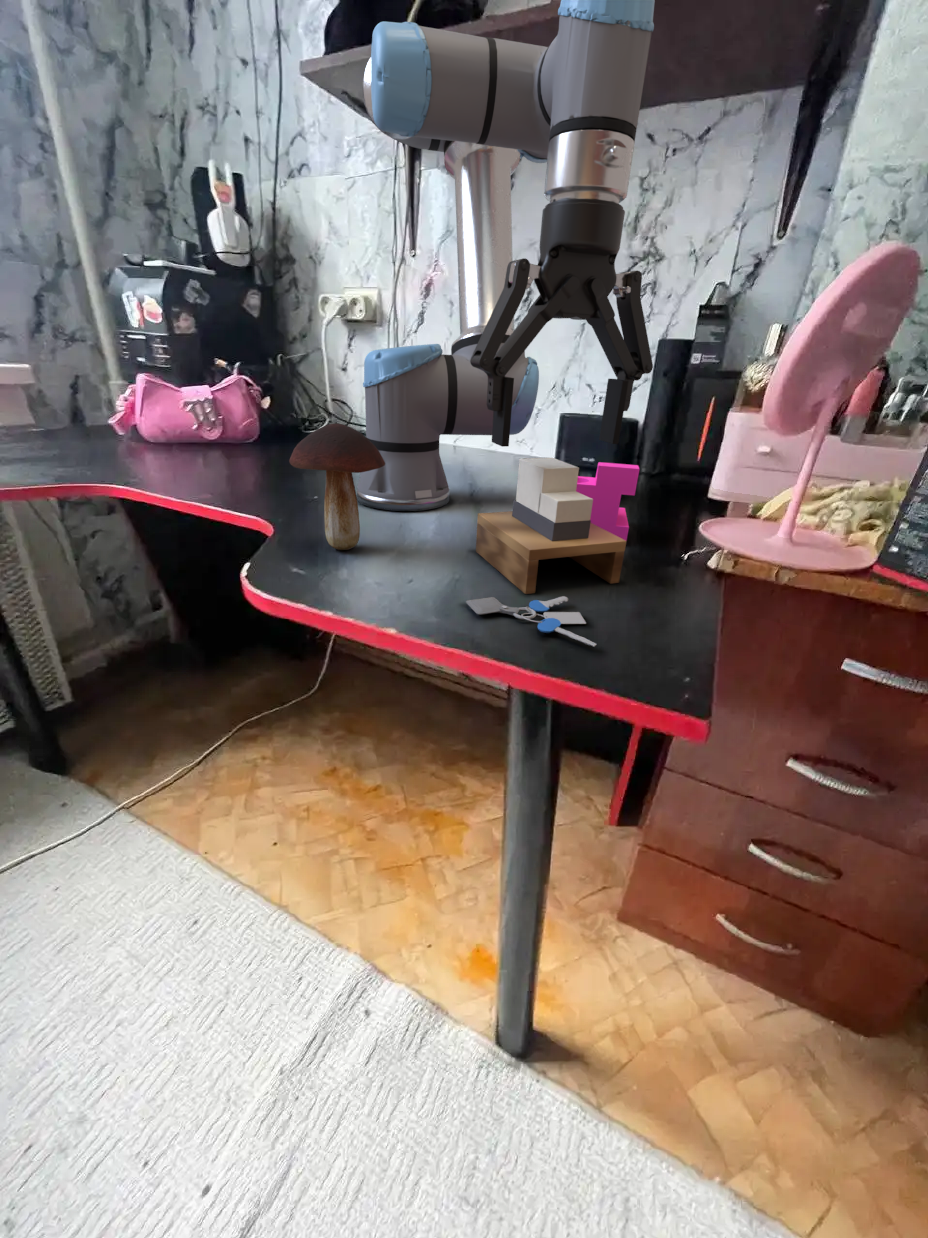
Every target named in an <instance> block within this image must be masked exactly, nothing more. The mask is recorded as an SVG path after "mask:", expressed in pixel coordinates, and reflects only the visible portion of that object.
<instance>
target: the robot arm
mask: <svg viewBox="0 0 928 1238" xmlns="http://www.w3.org/2000/svg"><path fill="white" fill-rule="evenodd" d="M655 2H656V1H655V0H560V5H559V7H558V10H557V15H558V16H559V19H558V31H557V35H556V36H555V38H553V40H552V42H551V43H550V44H549V45H548V46H543V45H537V44H531V43H525V42H519V41H514V40H507V39H502V38H496V37H488V36H485V37H484V36H478V35H472V34H468V33H463V32H457V31H452V30H445V29H440V28H434V27H430V26H429V27H428V26H422V25H419V24H418V23H416V22H414V21H402V22H395V21H380V22H379V23H377V24H376V25H375V27H374V29H373V31H372V36H371V37H372V38H371V46H370V47H371V49H370V52H371V53H370V54H371V55H370V57H369V59H368V60H367V62H366V65H365V68H364V71H363V75H362V84H361V85H362V98H363V104H364V106H365V110H366V112H367V115H368V117H369V118H370V120H371V122H372V123H373V124H374V126H375V127H376V128H377V129H378V130H379V131H380V132H381V133H382V134H384V135H385V136H387V137H389V138H390V139H392V140H395V141H396V142H399V143H401V144H404V145H406V146H409V147H412V148H415V149H419V150H420V149H421V150H426V151H433V152H440V153H443V162H444V168H445V171H446V172H447V173H448V175H449V176H450V177H451V178H452V179H453V180H454V195H455V196H454V197H455V222H456V225H455V226H456V227H455V228H456V254H457V281H458V284H457V285H458V310H459V311H458V313H459V336H458V337H457V338H456V339H454V341H453V342H452V344H451V348H450V354H443V352H444V351H443V349H442V345H441V344H440V343H429V344H428V343H427V344H415V345H406V346H396V347H387V348H379V349H374V350H371V351H369V352H368V353H367V354H366V356H365V358H364V362H363V370H364V371H363V382H362V387H363V388H364V405H365V407H364V408H365V437H366V438H367V439H369V440H370V441H371V442H372V443H373V444H374V445H375V447H376V448H377V449H378V451H379V452H380V454H381V456H382V458H383V459H384V462H385V466H383V467H381V468H378V469H374V470H370V471H366V472H361V473H359V474H360V475H359V479H358V481H357V484H356V485H357V486H356V497H357V502H358V503H360V504H362V505H363V506H367V507H369V508H374V509H376V510H377V509H378V510H385V511H392V512H393V511H395V512H418V511H419V512H420V511H427V510H433V509H437V508H441V507H443V506H445V505H447V504H448V503H449V501H450V488H449V487H450V486H449V483H448V480H447V477H446V473H445V470H444V466H443V462H442V459H441V454H440V437H441V435H443V436H444V435H445V436H446V435H447V436H491V443H492V444H495V445H498V446H500V447H509V445H510V436H512V435H513V436H514V435H518V434H520V433H521V432H522V431H523V430H525V428H526V427H527V425H528V424H529V422H530V420H531V417H532V415H533V412H534V409H535V405H536V402H537V397H538V392H539V384H540V383H539V382H540V369H539V366H538V362H537V360H536V359H535V358H532V357H531V356H526V350H527V349H528V347H529V346H530V345H531V344H532V342H533V341H534V339H535V338H536V337H537V336H538V334H539V333H540V332H541V331H542V329H543V328H544V327H545V326H546V325H547V323H548V322H550V321H551V320H553V319H558V320H559V319H560V320H561V319H570V320H576V321H586V323H587V324H588V325H590V327H591V328H592V330H593V332H594V334H595V336H596V338H597V340H598V342H599V344H600V346H601V349H602V350H603V352H604V355H605V357H606V359H607V361H608V363H609V365H610V367H611V370H612V371H613V373H614V375H615V377H616V378H608V379H607V385H606V390H605V397H604V404H603V411H602V417H601V424H600V430H599V437H598V440H599V441H601V442H605V443H608V444H611V445H618V444H619V442H620V436H621V430H622V424H623V418H624V412H628V410H629V409H630V406H631V399H632V394H633V388H634V382H635V381H640V380H641V379H642V377H643V375H645V374H646V375H648V374H651V372H652V371H653V369H654V368H653V367H654V363H653V359H652V354H651V348H650V343H649V337H648V332H647V331H648V330H647V326H646V321H645V315H644V309H643V305H642V299H641V294H642V293H641V292H642V281H643V275H642V272H641V271H640V270H632V271H623V272H620V273H617V272H616V268H615V267H616V266H615V262H616V259H617V255H618V254H619V251H620V249H621V242H622V235H623V227H624V223H625V222H624V221H625V215H626V211H625V209H624V207H623V205H621V204H620V203H622V202H623V201H624V200H625V199H626V198H627V196H628V190H629V184H630V177H631V171H632V163H633V156H634V150H635V143H636V135H637V129H638V124H639V116H640V109H641V104H642V103H641V102H642V96H643V90H644V89H643V88H644V84H645V78H646V70H647V65H648V60H649V59H648V58H649V51H650V46H651V38H652V33H653V32H654V29H655V24H654V23H655V22H654V14H655V13H654V11H655ZM522 158H525V159H526V160H527V161H530V162H532V163H536V164H546V167H545V168H546V169H545V178H544V179H545V180H544V188H543V189H544V190H543V197H544V198H545V199H546V201H548V203H547V204H546V205H545V206H544V208H543V209H542V213H541V225H540V236H539V259H538V263H537V264H534V263H530V260H529V259H528V258H525V257H524V258H519V259H515V260H514V259H513V257H514V255H513V253H514V252H513V222H512V221H513V219H512V183H511V182H512V180H511V179H512V178H511V177H512V175H513V173H515V171H516V170H517V168H518V166H519V165H520V161H521V159H522ZM533 281H534V284H535V287H536V289H537V291H538V293H539V295H538V296H537V297H536V299H535V300H534V301H533V303H532V304H531V305H530V306H529V308H528V309H527V313H526V315H525V316H524V317H523V318H522V320H521V321H520V322H519V324H518V325H517V326H516V328H515V315H516V313H517V312H518V309H519V307H520V305H521V303H522V300H523V298H524V296H525V294H526V291H527V289H529V288H531V286H532V284H533ZM611 292H612V294H613V295H614V296H615V299H616V308H617V313H618V318H619V323H620V327H621V330H620V328H619V326H618V324H617V322H616V319H615V316H616V314H615V313H616V312H615V311H614V308H613V306H612V304H611V302H610V299H609V298H608V297H609V295H610V294H611Z"/></svg>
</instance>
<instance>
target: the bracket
mask: <svg viewBox="0 0 928 1238" xmlns="http://www.w3.org/2000/svg"><path fill="white" fill-rule="evenodd" d="M639 475H640V466H639V464H626V463H615V462H601V461H599V462H598V463H597V468H596V473H595V477H592V476H580V475H578V480H577V487H576V492H578V493H581V494H583V495H585V496H587V497H590V498H592V499H593V503H592V510H591V517H590V521H591V523H592V524H594V525H596V526H598V527H600V528H602V529H604V530H606V531H608V532H610V533H612V534H614V535H616V536H618V537H620V538H622V539H624V540H626V542H627V541H628V535H629V529H630V526H629V521H628V517H627V516H628V515H627V512H626V507H620V504H621V498H622V495H624V496H635V495H636V491H637V486H638V481H639Z"/></svg>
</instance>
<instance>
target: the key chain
mask: <svg viewBox="0 0 928 1238" xmlns="http://www.w3.org/2000/svg"><path fill="white" fill-rule="evenodd" d="M564 602H565V603H567V602H569V598H568V597H567V596H565V595H562V596H558V597H555V598H552V599H549V600H545V601H544V600H539V599H533V600H531V601H530V602H529V603H528V606H525V607H524V606H523V607H522V606H521V607H516V606H509V605H506V604H503V603H501V601H500V600H498V599H497V598H496V597H494V596H489V597H482V598H475V599H467V600H466V601H465V604H467V606H469V608H470V609H472V611H473V612H474V613H475V614H476V615H480V616H481V615H488V614H495V613H499V614H507V615H510V616H512V617H515V618H516V619H519V620H522V621H523V620H524V621H529V622H532V623H536V624H537V630H538V631H539V632H540V633H544V634H545V633H546V634H550V633H554V632H556V633H559V634H561V635H563V636H566V637H568V638H570V639H572V640H575V641H578V642H580V643H583V644H585V645H588V646H590V647H594V648H595V647H596V646H597V642H594V641H592V640H590V639H587V638H586V637H583V636H580V635H578V634H576V633H574V632H572V631H570V630H567V629H564V628H562V627H561V626H562V625H587V622H586V620H585V619H584V617H583V616H582V614H581V612H580V611H550V608H552V607H554V606H560V605H561V604H563V603H564ZM520 612H524V613H521V615H520V614H519V613H520ZM540 613H543V614H540ZM525 615H527V616H525ZM536 616H538V617H542V618H544V619H542V620H534V618H536Z"/></svg>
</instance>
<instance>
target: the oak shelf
mask: <svg viewBox="0 0 928 1238" xmlns="http://www.w3.org/2000/svg"><path fill="white" fill-rule="evenodd" d="M476 521H477V523H476V539H475V540H476V541H475V552H476V553H477V554H478V555H479V556H480V557H482V558H483V559H484V560H485V561H486V562H487V563H488V564H489V565H491V566H492V567H493V568H494V569H495V570H496V571H498V572H499V573H500V574H501V575H502V576H504V577H505V578H506V579H507V580H508V581H509V582H510V583H512V584H513V585H514V586H515V587H516V588H518V589H519V590H520V591H521V592H522V593H523V594H525V595H530V594H531V595H532V594H535V593H536V589H537V587H536V586H537V579H538V569H539V568H538V567H539V560H541V561H542V560H549V559H560V558H570V559H571V560H573V561H574V562H576V563H577V564H579V565H580V566H582V567H584V568H585V569H587V570H588V571H590V572H592V573H593V574H595V575H596V576H598V577H599V578H600V579H602V580H603V581H606V582H607V583H608V584H612V585H613V584H619V583H620V579H621V573H622V568H623V564H624V563H623V562H624V556H625V551H626V545H627V541H626V540H624V539H622V538H620V537H618V536H616V535H614V534H612V533H610V532H608V531H606V530H604V529H602V528H600V527H598V526H596V525H594V524H592V523H590V530H589V537H588V538H583V539H572V540H561V541H551V540H549V539H548V538H546V537H545V536H543V535H541V534H540V533H538V532H537V531H535V530H533V529H532V528H530V527H529V526H527V525H525V524H524V523H522V522H521V521H519V520H518V519H516V518H514V517H513V516H512V510H510V511H507V510H506V511H495V512H494V511H493V512H492V511H491V512H477V520H476Z"/></svg>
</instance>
